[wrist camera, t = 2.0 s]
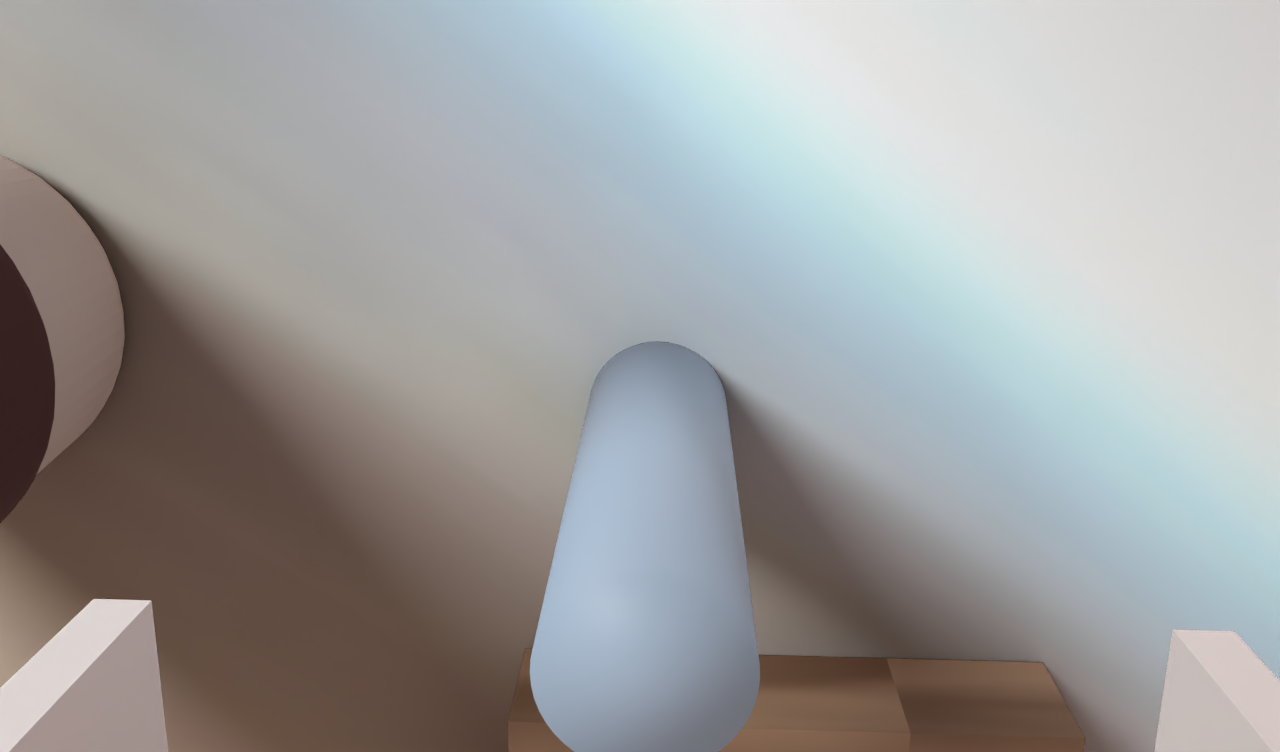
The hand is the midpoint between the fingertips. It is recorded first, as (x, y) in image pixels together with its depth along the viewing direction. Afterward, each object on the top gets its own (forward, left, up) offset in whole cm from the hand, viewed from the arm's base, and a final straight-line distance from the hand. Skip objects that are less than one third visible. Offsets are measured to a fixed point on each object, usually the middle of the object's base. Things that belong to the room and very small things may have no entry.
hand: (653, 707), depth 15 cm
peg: (0, 0, -11) cm, 11 cm away
